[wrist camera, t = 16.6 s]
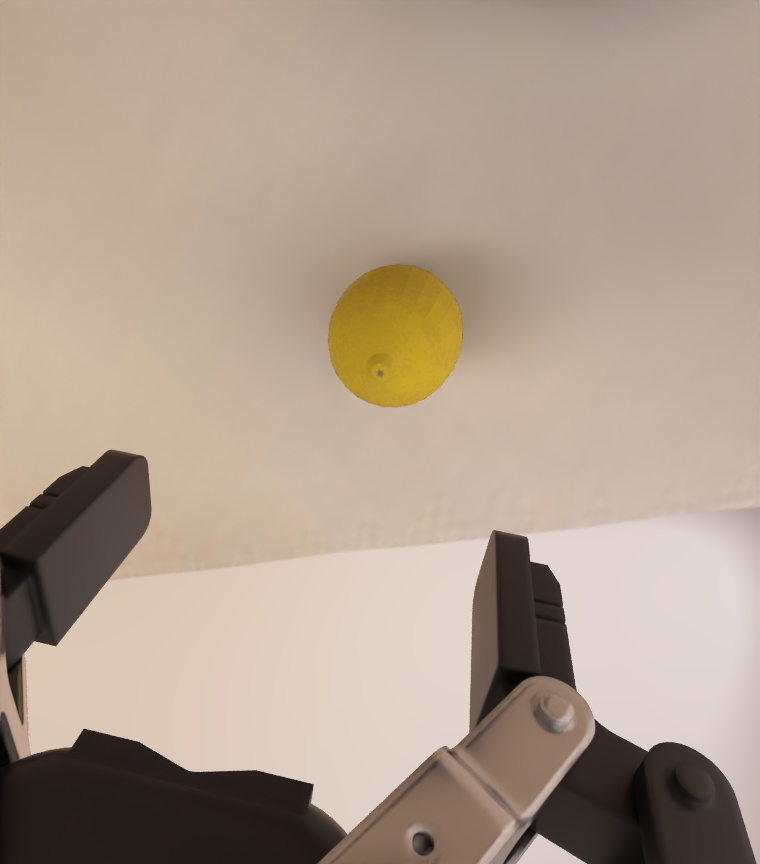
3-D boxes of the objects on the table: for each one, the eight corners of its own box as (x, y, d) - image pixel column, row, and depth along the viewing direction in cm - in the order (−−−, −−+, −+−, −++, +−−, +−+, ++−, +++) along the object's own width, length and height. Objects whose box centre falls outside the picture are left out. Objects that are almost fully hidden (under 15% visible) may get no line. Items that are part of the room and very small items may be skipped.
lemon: (332, 273, 28) (280, 329, 21) (441, 227, 26) (423, 273, 19) (378, 374, 30) (345, 455, 23) (482, 338, 28) (479, 415, 21)
